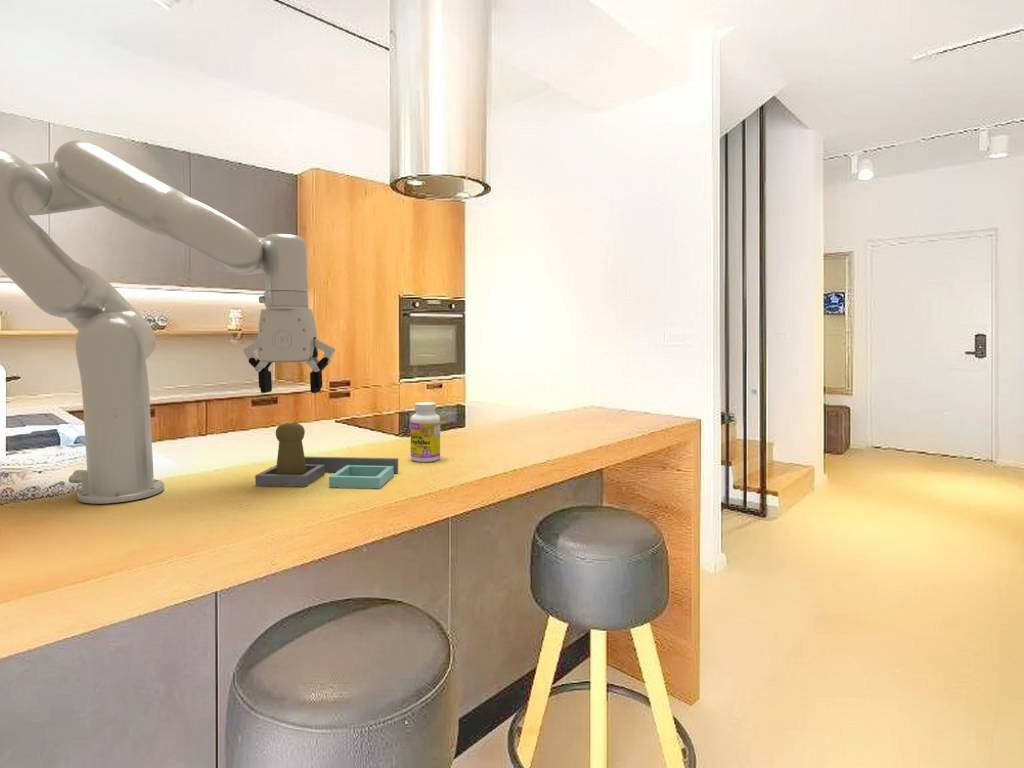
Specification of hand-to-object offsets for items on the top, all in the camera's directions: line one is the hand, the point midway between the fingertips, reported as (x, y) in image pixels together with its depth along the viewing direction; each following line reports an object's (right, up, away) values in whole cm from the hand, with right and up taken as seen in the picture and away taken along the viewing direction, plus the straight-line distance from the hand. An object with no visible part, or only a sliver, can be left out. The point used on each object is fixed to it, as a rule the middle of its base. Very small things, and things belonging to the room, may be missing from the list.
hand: (291, 392), depth 110 cm
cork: (0, -17, +1) cm, 17 cm away
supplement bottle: (+23, -16, +20) cm, 34 cm away
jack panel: (+7, -17, +2) cm, 18 cm away
